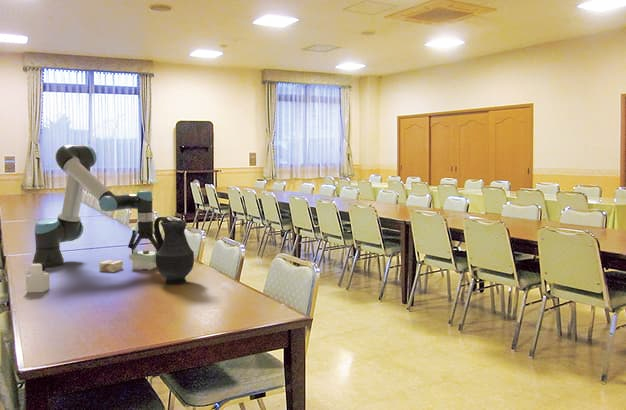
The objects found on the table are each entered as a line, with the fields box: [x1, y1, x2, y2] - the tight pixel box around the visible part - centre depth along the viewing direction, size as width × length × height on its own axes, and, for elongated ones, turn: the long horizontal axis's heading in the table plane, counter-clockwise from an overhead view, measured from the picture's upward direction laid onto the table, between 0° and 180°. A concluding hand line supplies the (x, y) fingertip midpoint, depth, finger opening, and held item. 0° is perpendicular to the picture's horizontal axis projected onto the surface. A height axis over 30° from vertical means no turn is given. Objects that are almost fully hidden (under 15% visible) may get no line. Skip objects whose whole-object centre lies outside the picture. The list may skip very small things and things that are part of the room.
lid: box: [128, 249, 155, 261], centre depth 301 cm, size 12×12×4 cm
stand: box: [99, 259, 124, 273], centre depth 295 cm, size 8×8×4 cm
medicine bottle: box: [25, 262, 51, 294], centre depth 250 cm, size 7×7×12 cm
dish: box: [131, 259, 157, 271], centre depth 301 cm, size 10×10×5 cm
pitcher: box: [153, 216, 195, 286], centre depth 267 cm, size 17×21×30 cm
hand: (146, 262), depth 301 cm, fingers closed on lid, 12 cm apart
